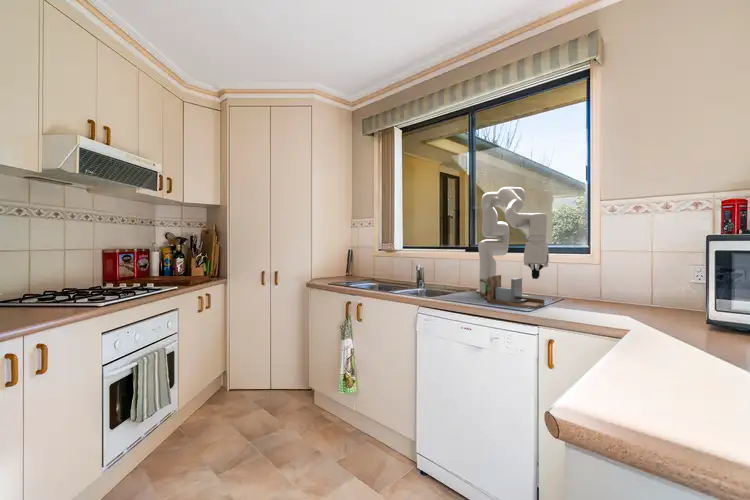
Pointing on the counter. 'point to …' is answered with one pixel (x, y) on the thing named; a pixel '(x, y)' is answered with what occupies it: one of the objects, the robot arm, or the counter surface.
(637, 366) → the counter surface
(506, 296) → the grey rectangular block
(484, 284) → the food container
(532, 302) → the rack
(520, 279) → the bookend
